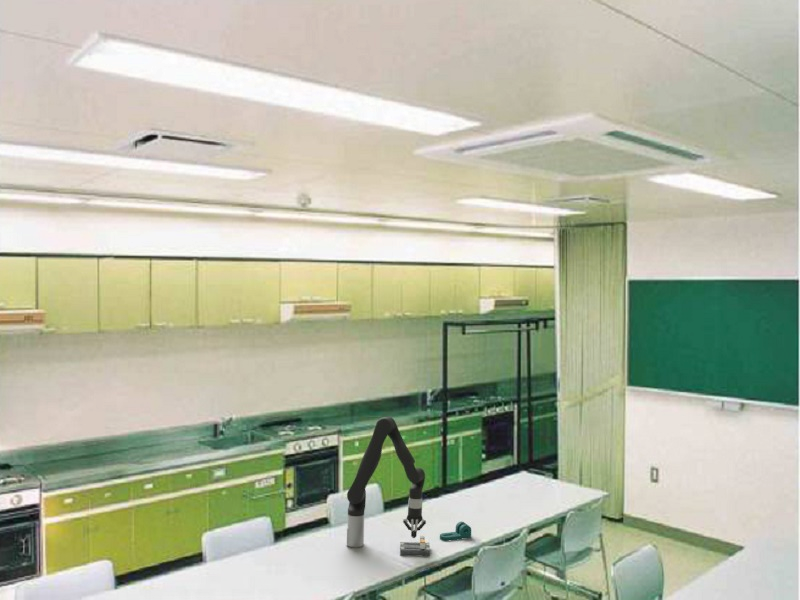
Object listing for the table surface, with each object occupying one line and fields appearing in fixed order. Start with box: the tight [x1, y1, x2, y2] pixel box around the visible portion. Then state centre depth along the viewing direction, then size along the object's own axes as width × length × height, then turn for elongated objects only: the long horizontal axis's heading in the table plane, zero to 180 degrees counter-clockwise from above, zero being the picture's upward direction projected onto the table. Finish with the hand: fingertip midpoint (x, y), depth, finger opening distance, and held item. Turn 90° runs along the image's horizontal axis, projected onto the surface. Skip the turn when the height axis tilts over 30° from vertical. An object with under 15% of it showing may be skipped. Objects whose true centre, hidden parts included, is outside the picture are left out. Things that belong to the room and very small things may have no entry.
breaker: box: [419, 535, 426, 541], centre depth 379 cm, size 2×3×4 cm
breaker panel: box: [399, 541, 431, 557], centre depth 376 cm, size 16×11×3 cm
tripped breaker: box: [419, 539, 426, 549], centre depth 373 cm, size 2×3×4 cm
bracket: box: [439, 521, 472, 542], centre depth 398 cm, size 18×7×8 cm, turn 111°
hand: (413, 537), depth 373 cm, fingers closed
